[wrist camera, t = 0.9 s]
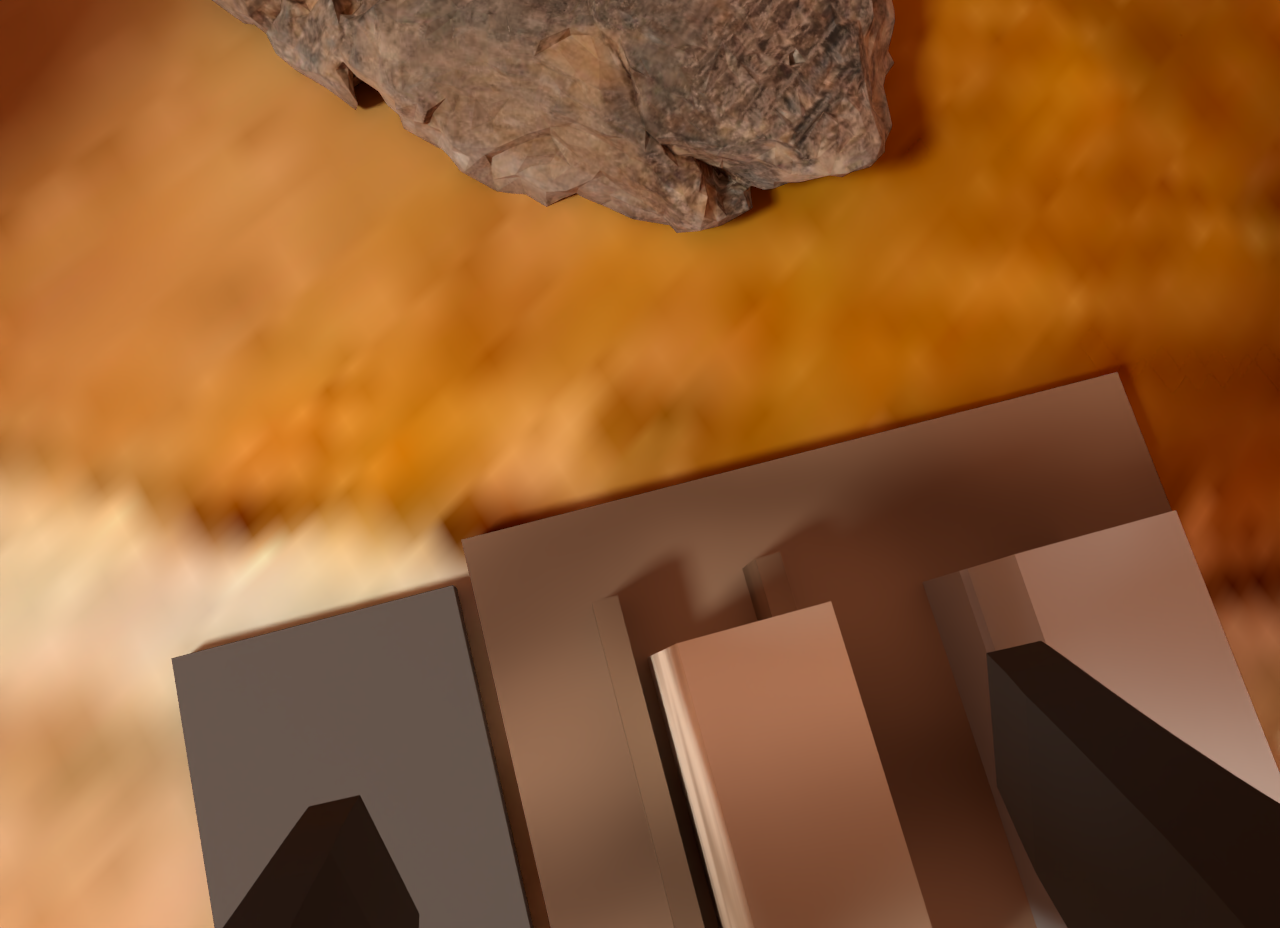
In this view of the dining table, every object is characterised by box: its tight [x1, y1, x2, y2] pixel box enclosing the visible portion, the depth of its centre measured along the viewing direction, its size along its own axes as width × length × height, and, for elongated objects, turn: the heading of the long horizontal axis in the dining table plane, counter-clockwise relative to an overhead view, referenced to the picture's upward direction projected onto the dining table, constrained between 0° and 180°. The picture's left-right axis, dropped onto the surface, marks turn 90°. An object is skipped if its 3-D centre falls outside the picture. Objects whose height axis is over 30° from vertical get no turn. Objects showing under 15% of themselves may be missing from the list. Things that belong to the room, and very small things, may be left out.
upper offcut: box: [968, 510, 1280, 803], centre depth 20 cm, size 8×4×2 cm, turn 15°
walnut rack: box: [462, 372, 1172, 928], centre depth 22 cm, size 18×18×3 cm
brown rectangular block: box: [647, 601, 932, 928], centre depth 18 cm, size 10×2×9 cm, turn 15°
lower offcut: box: [923, 569, 1067, 928], centre depth 22 cm, size 10×4×2 cm, turn 15°
